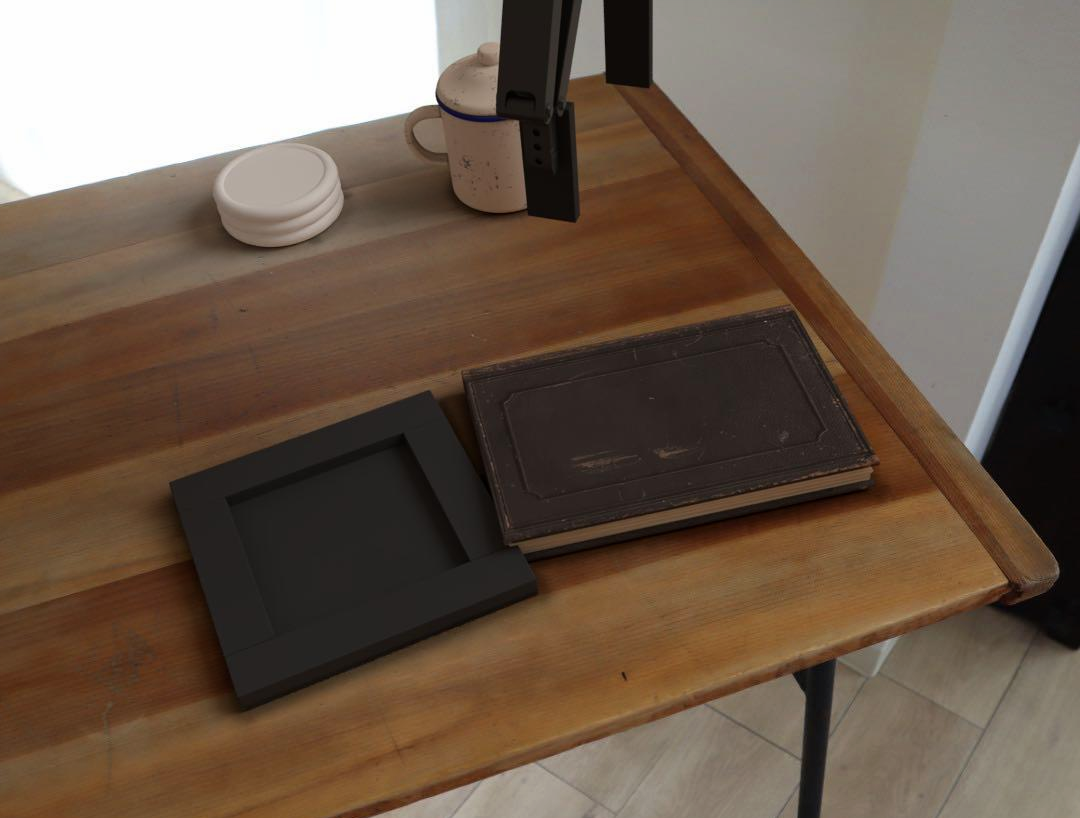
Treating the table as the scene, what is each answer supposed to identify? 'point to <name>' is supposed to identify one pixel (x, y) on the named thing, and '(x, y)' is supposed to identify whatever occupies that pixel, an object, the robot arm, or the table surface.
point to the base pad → (345, 547)
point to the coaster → (278, 194)
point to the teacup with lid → (475, 135)
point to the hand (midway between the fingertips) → (593, 145)
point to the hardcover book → (662, 432)
